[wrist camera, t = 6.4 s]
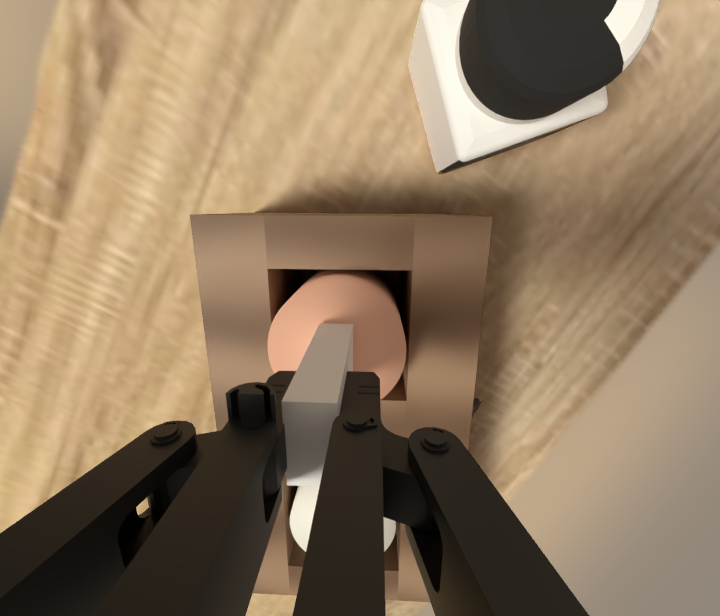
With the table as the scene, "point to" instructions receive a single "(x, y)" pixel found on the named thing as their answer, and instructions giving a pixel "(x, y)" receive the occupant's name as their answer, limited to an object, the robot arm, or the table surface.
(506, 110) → the medicine bottle
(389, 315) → the pink egg shaped ball
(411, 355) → the wooden egg holder
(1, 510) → the table surface
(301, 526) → the white egg in box
